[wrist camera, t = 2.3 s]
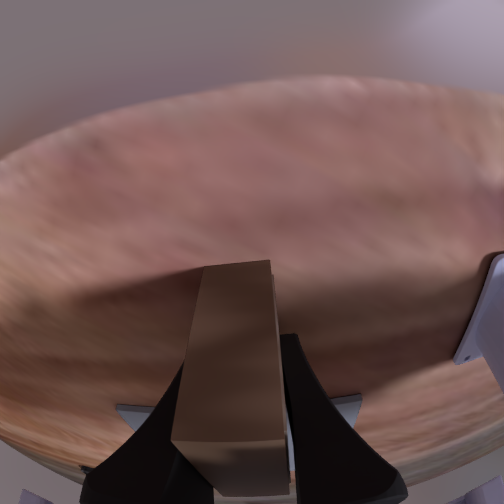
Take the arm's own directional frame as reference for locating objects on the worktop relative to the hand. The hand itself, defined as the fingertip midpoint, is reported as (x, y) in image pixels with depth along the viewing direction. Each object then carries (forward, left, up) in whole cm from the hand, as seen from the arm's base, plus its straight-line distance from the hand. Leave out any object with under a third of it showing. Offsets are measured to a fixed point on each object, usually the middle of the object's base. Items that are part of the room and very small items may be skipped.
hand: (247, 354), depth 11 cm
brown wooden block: (0, 0, -2) cm, 2 cm away
